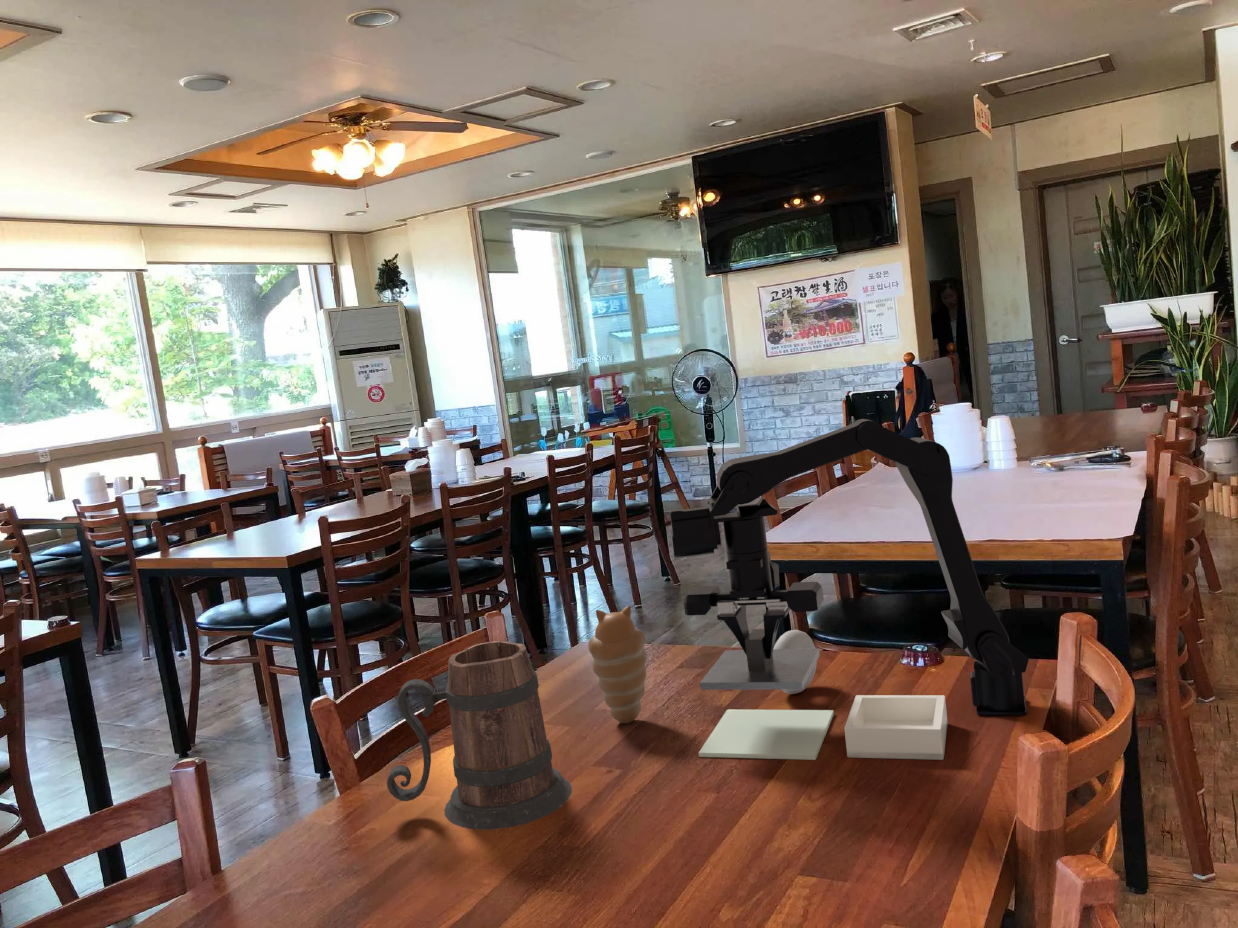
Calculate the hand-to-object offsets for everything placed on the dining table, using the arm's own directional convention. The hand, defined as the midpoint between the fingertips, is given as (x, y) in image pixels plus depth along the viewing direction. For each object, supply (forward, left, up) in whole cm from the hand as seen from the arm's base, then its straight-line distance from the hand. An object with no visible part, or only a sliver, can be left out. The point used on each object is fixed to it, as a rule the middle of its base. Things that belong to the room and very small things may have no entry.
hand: (760, 657), depth 139 cm
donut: (-1, -17, -12) cm, 21 cm away
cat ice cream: (+23, -4, -12) cm, 26 cm away
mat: (0, 0, -11) cm, 11 cm away
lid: (0, 0, -2) cm, 2 cm away
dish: (-18, +1, -11) cm, 21 cm away
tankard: (+33, +24, -12) cm, 42 cm away
